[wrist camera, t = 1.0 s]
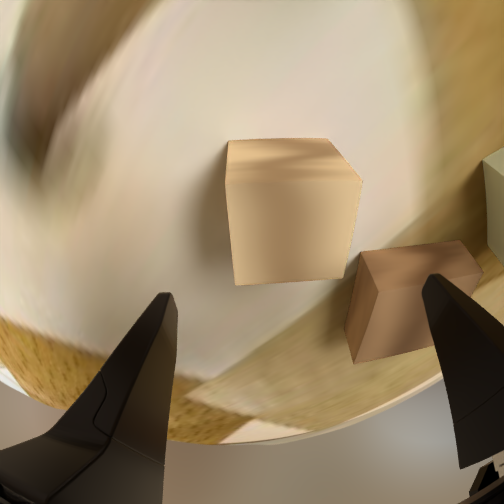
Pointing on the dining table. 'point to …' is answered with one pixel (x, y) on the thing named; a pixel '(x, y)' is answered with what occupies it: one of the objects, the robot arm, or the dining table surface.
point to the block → (495, 201)
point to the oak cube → (289, 209)
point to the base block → (401, 296)
